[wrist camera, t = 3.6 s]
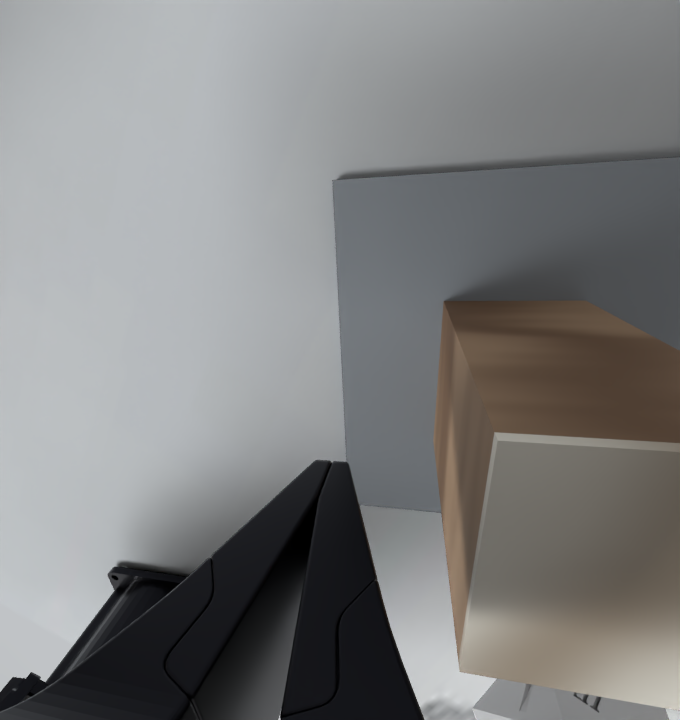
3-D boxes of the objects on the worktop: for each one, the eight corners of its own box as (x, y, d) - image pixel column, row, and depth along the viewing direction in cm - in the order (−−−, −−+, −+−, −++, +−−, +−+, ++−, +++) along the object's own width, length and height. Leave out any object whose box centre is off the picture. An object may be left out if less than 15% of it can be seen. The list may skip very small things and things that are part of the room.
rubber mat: (349, 498, 17) (348, 503, 17) (334, 180, 11) (332, 180, 11) (762, 539, 14) (769, 545, 14) (1014, 135, 8) (1034, 132, 8)
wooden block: (433, 441, 15) (459, 671, 7) (443, 301, 12) (497, 439, 5) (550, 448, 14) (706, 715, 7) (585, 300, 11) (894, 465, 4)
